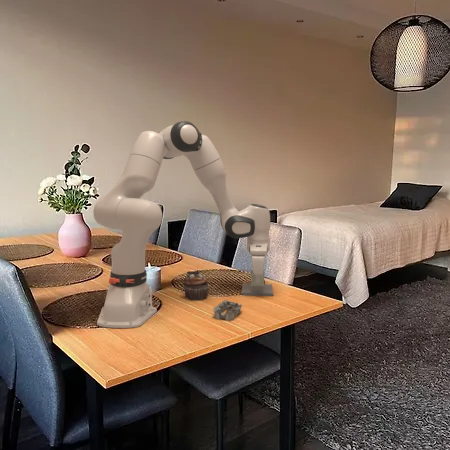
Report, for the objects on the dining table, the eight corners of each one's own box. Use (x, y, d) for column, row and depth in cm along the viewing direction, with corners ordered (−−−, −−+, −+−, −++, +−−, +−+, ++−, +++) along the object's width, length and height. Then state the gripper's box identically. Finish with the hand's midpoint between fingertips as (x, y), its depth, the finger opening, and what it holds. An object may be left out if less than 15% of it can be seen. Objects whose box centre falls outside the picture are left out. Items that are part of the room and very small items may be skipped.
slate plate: (273, 296, 175) (273, 293, 175) (241, 295, 175) (241, 292, 175) (271, 286, 187) (271, 284, 186) (242, 285, 187) (242, 283, 187)
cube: (263, 286, 178) (264, 273, 177) (251, 285, 178) (251, 273, 178) (263, 282, 183) (263, 270, 182) (251, 281, 183) (251, 269, 182)
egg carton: (231, 322, 148) (231, 310, 148) (210, 318, 152) (210, 307, 151) (244, 312, 158) (244, 300, 157) (224, 308, 161) (224, 297, 160)
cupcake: (191, 303, 166) (191, 276, 164) (179, 295, 174) (179, 270, 172) (213, 298, 171) (214, 272, 169) (201, 291, 179) (201, 266, 177)
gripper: (250, 240, 189) (249, 272, 191) (250, 251, 168) (249, 287, 171) (265, 240, 188) (264, 273, 191) (267, 251, 168) (266, 288, 170)
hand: (257, 280), depth 180 cm, fingers closed on cube, 5 cm apart
